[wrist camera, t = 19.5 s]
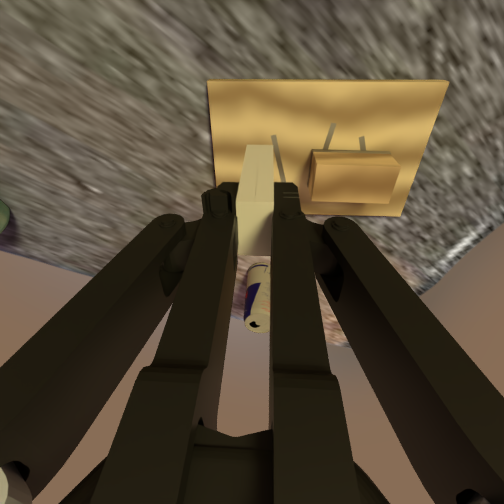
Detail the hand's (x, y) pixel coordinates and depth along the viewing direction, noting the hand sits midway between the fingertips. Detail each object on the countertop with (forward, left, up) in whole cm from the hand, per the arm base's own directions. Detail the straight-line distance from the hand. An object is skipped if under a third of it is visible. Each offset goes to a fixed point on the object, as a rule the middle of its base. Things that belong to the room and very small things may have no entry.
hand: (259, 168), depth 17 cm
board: (+8, +7, -24) cm, 27 cm away
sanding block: (+10, +11, -23) cm, 27 cm away
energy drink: (+31, 0, -25) cm, 40 cm away
